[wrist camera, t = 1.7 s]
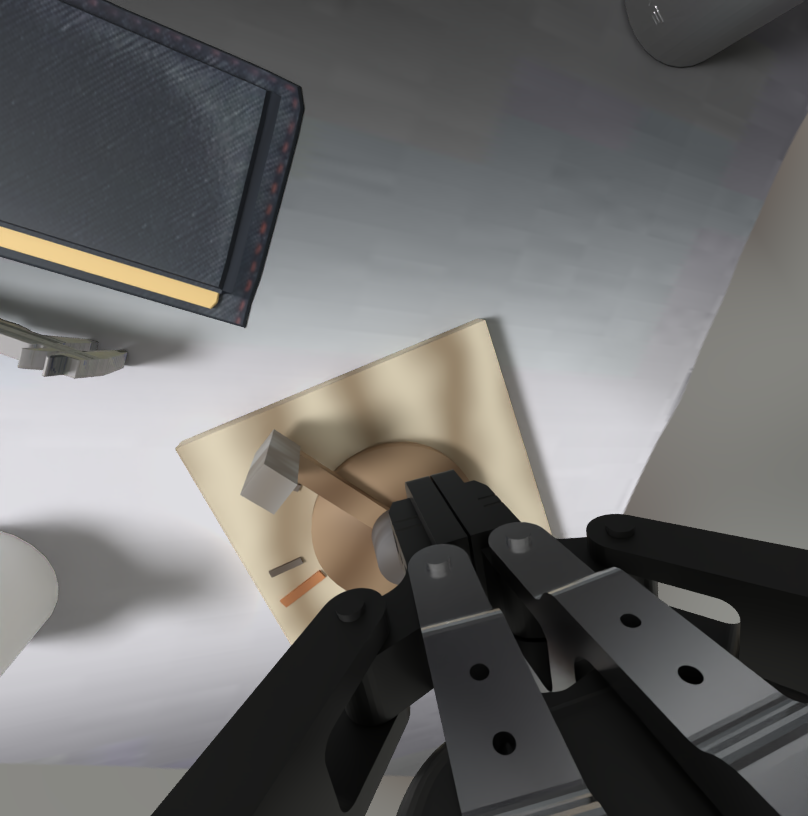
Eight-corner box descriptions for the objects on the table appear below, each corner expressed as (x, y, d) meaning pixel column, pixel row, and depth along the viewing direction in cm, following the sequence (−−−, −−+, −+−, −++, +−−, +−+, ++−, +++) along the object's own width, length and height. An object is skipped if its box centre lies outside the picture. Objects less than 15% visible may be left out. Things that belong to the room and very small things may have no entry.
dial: (505, 498, 33) (553, 549, 27) (407, 616, 34) (430, 694, 27) (321, 363, 28) (324, 384, 21) (212, 507, 29) (181, 570, 22)
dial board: (477, 318, 31) (486, 319, 30) (553, 559, 38) (564, 571, 36) (181, 441, 29) (174, 449, 28) (316, 672, 36) (316, 690, 34)
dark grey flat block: (312, 82, 25) (240, 339, 27) (312, 97, 27) (244, 336, 29) (-127, -131, 20) (-165, 211, 22) (-90, -96, 21) (-129, 218, 24)
